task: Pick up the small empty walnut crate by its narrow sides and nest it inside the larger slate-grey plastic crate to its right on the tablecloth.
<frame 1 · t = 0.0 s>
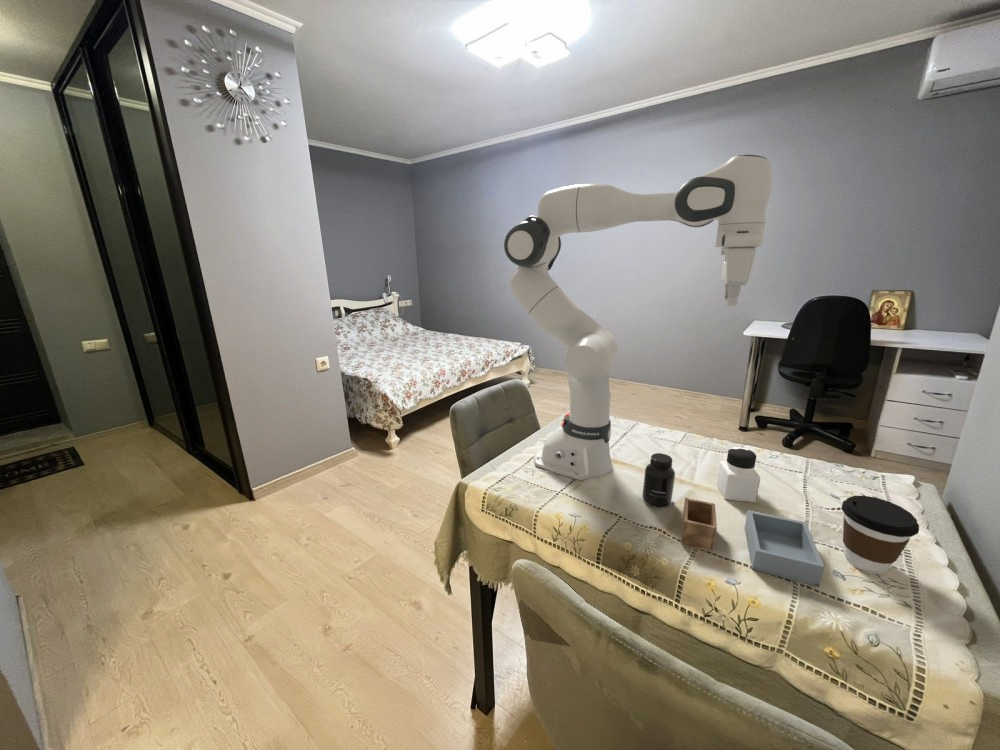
hand: (729, 302, 91), 48 cm above the table, fingers open, 8 cm apart
walnut crate: (696, 535, 88), on the table
grey crate: (778, 554, 82), on the table
coffee cup: (864, 563, 79), on the table
medicine bottle: (735, 493, 103), on the table
supplement bottle: (656, 501, 100), on the table
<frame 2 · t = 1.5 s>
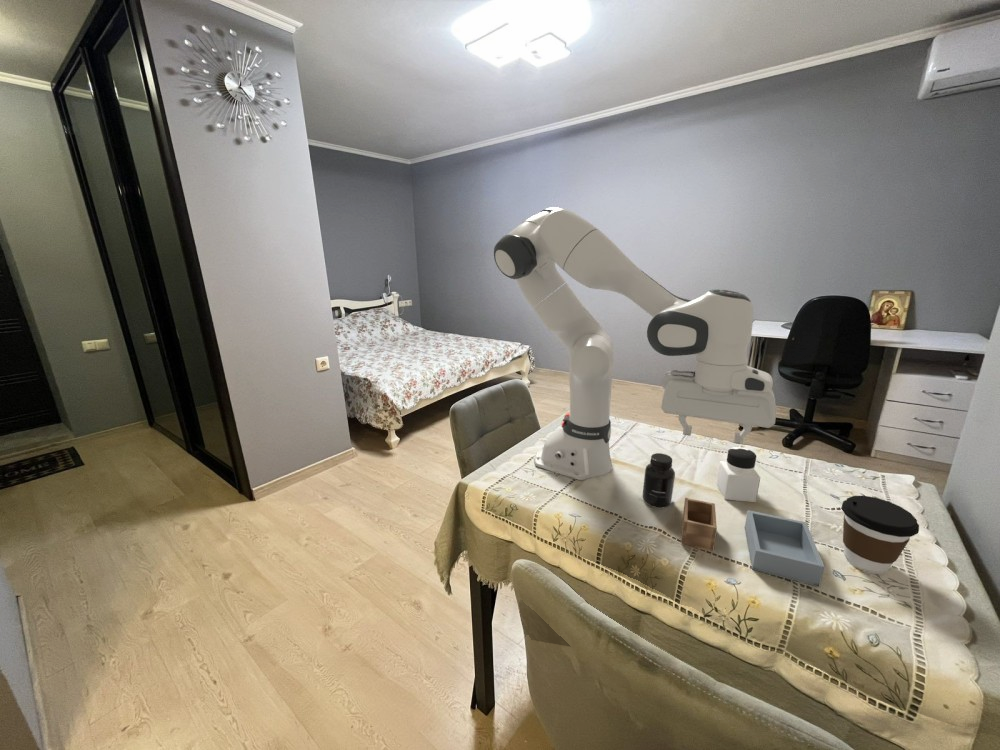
hand: (711, 438, 83), 22 cm above the table, fingers open, 8 cm apart
nothing on the table moved.
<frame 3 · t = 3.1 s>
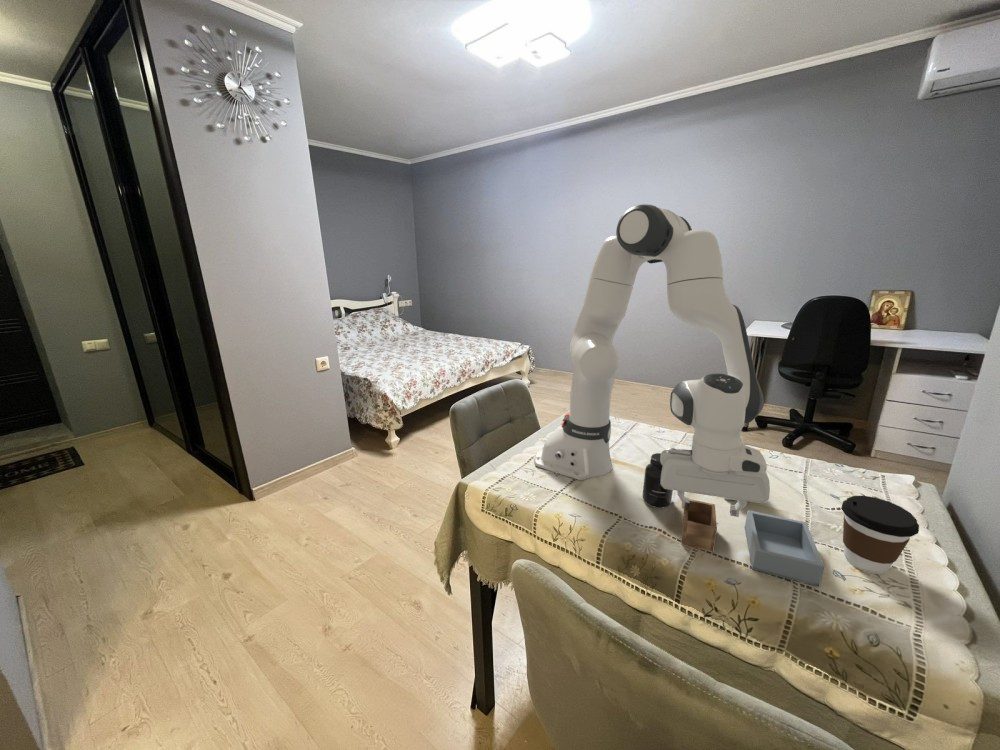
hand: (709, 510, 87), 6 cm above the table, fingers open, 8 cm apart
walnut crate: (696, 536, 88), on the table, touching gripper
everything else where it was.
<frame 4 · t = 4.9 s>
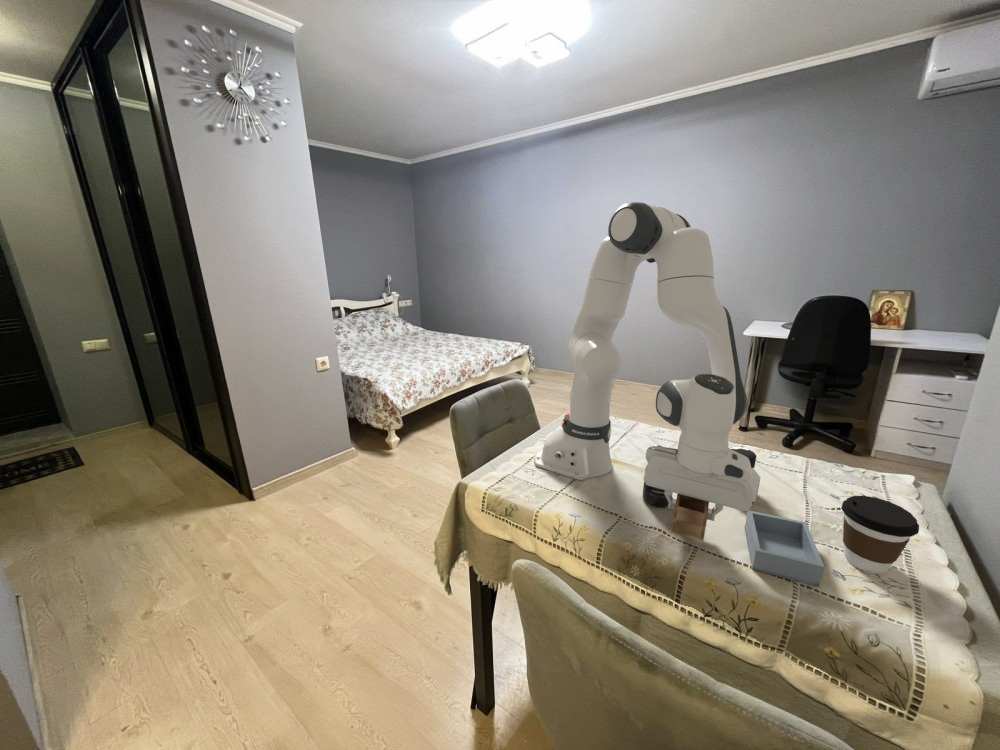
hand: (690, 513, 85), 6 cm above the table, fingers closed on walnut crate, 6 cm apart
walnut crate: (688, 524, 85), point 4 cm above the table, touching gripper
everything else where it was.
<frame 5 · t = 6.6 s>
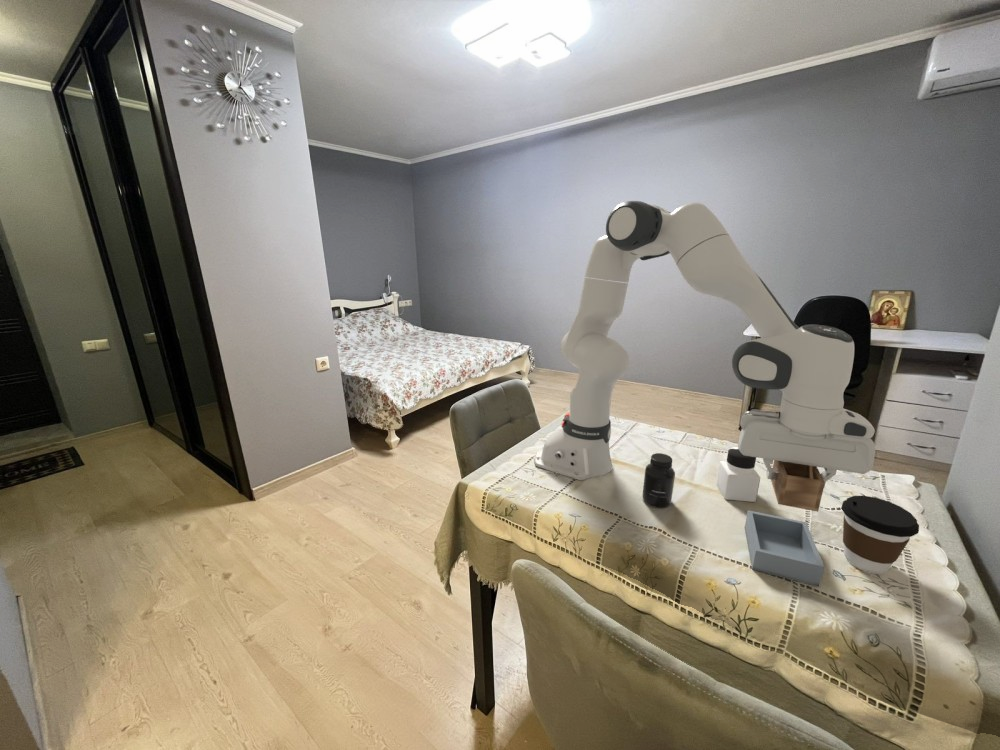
hand: (794, 482, 77), 17 cm above the table, fingers closed on walnut crate, 6 cm apart
walnut crate: (792, 494, 77), point 14 cm above the table, touching gripper
everything else where it was.
when the fingers open (5 cm above the table, at t = 9.1 s): walnut crate drops 2 cm, resting on grey crate.
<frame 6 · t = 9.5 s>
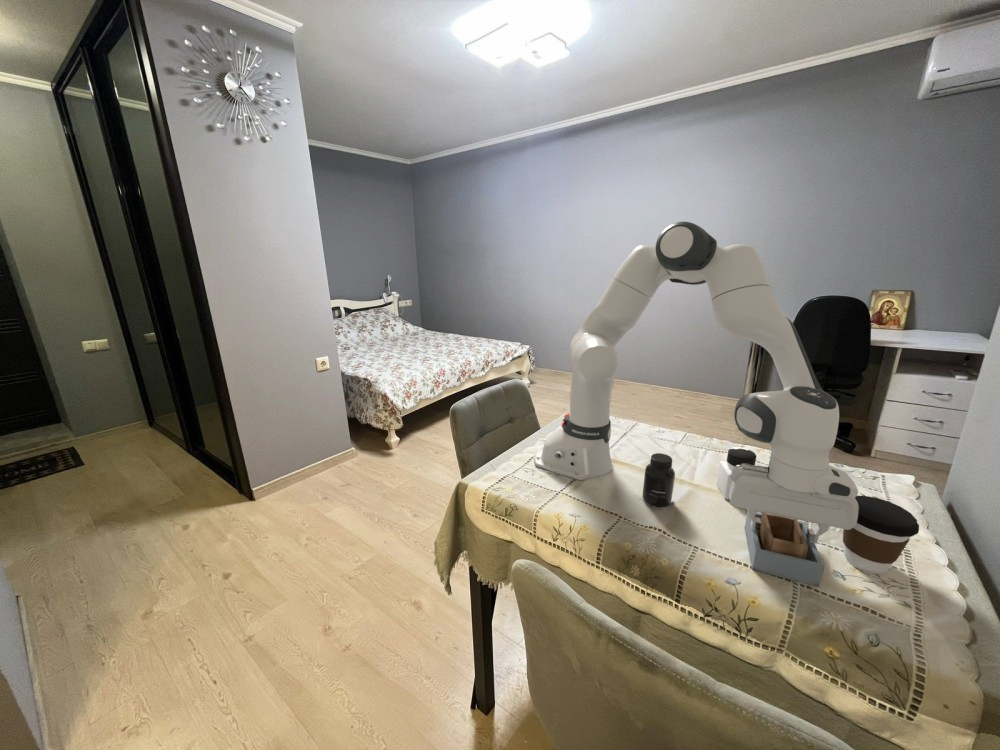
hand: (782, 533, 81), 5 cm above the table, fingers open, 8 cm apart
walnut crate: (778, 553, 81), point 1 cm above the table, touching grey crate
everything else where it was.
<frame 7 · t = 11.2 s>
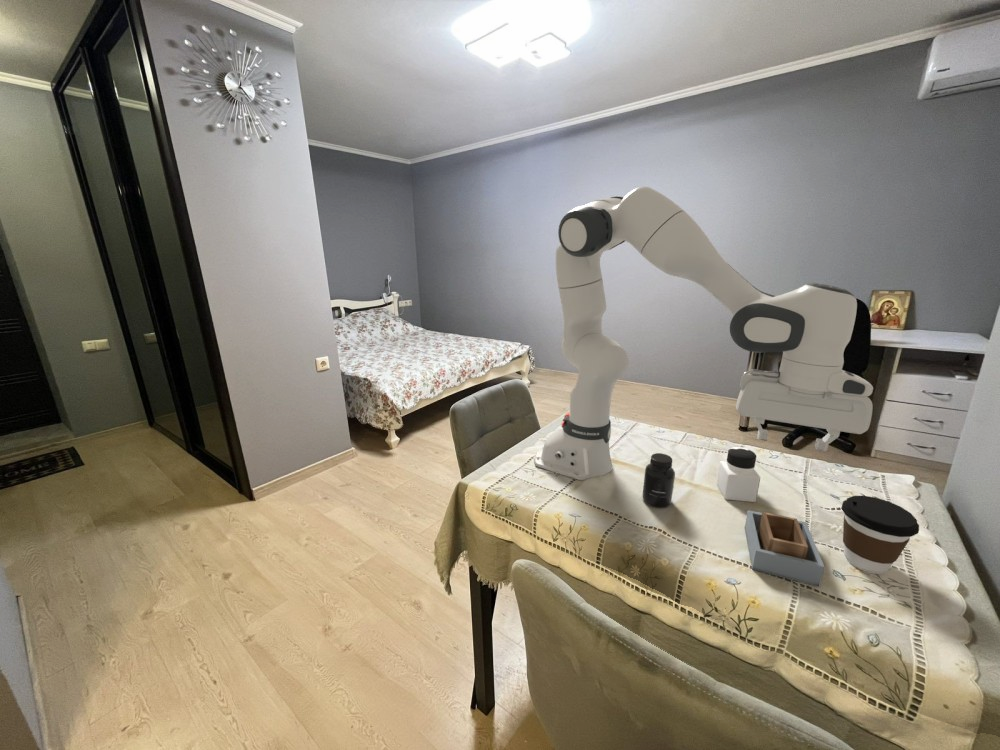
hand: (790, 444, 77), 24 cm above the table, fingers open, 8 cm apart
nothing on the table moved.
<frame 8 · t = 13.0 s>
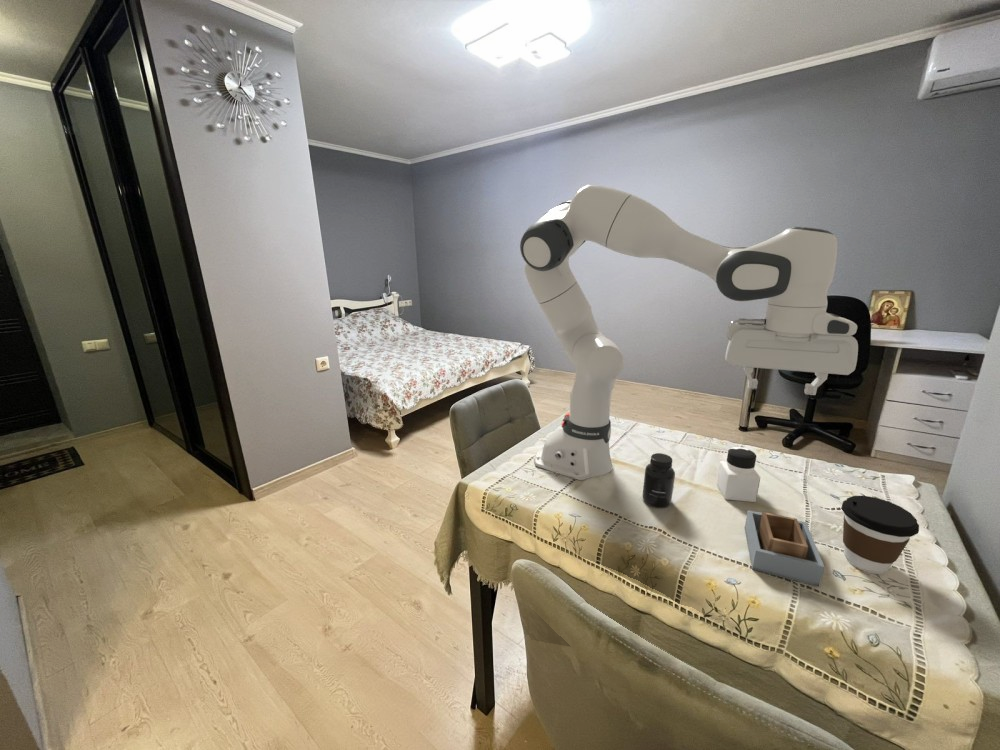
hand: (779, 391, 78), 33 cm above the table, fingers open, 8 cm apart
nothing on the table moved.
at the end: walnut crate 0.6 cm off-centre on the grey crate, point 0.6 cm above the grey crate's base; walnut crate tilted 0°; the gripper is holding nothing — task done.
